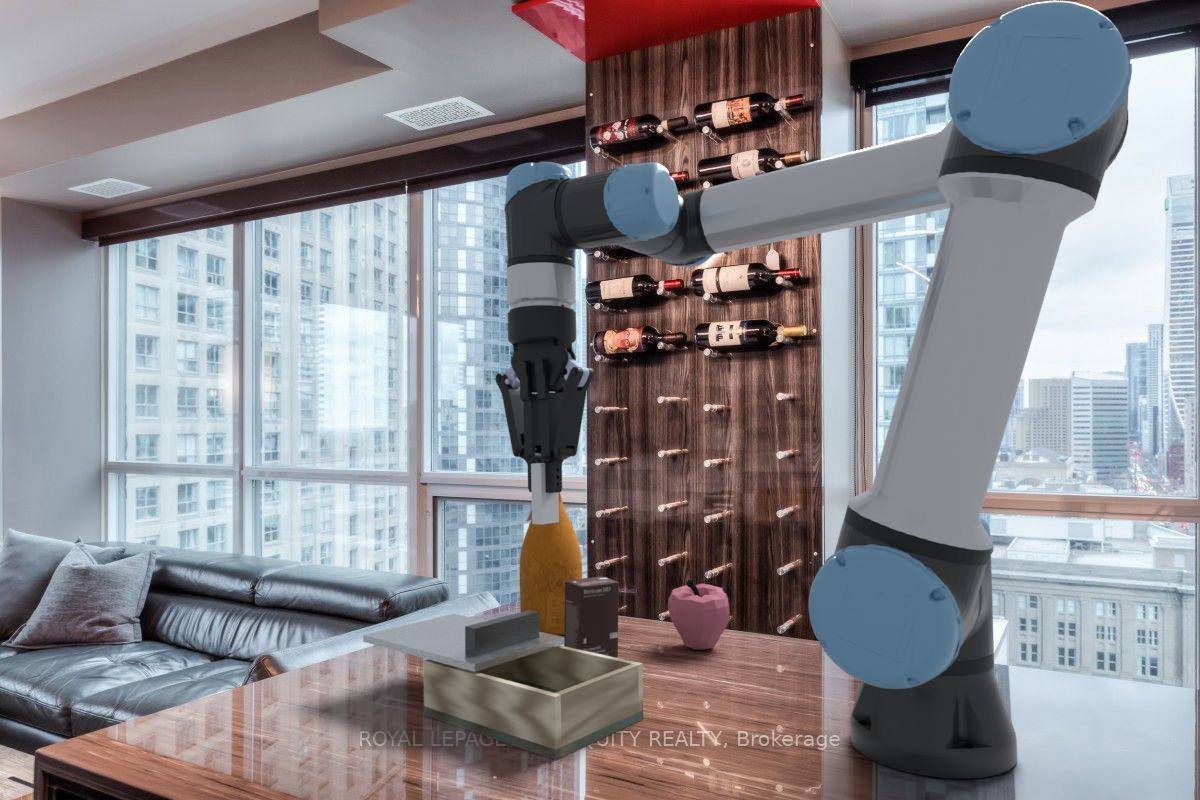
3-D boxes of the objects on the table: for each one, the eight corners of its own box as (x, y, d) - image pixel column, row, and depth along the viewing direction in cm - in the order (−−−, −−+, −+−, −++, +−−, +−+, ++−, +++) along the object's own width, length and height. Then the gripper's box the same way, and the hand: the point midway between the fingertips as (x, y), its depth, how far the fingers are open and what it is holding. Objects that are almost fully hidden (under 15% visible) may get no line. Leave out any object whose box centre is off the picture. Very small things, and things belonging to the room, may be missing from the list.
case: (643, 719, 90) (642, 663, 90) (555, 760, 79) (555, 696, 79) (514, 683, 102) (514, 635, 103) (424, 715, 92) (423, 660, 92)
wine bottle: (557, 619, 136) (555, 438, 137) (595, 630, 129) (593, 438, 130) (507, 629, 130) (506, 439, 131) (544, 641, 122) (542, 439, 123)
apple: (733, 657, 113) (731, 583, 114) (670, 656, 114) (669, 584, 114) (725, 638, 123) (724, 571, 123) (667, 638, 123) (666, 571, 124)
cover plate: (564, 643, 97) (564, 611, 97) (474, 671, 86) (474, 635, 87) (453, 619, 110) (453, 591, 110) (363, 641, 99) (363, 610, 99)
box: (581, 682, 103) (580, 585, 103) (563, 674, 106) (562, 580, 107) (621, 674, 106) (620, 580, 106) (602, 666, 110) (600, 575, 110)
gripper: (608, 304, 90) (613, 522, 89) (523, 317, 98) (527, 516, 97) (562, 297, 84) (566, 530, 83) (476, 311, 92) (479, 523, 91)
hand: (545, 522), depth 90 cm, fingers closed
